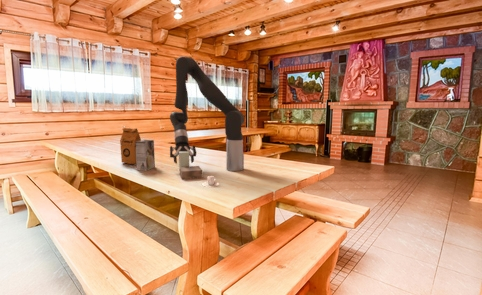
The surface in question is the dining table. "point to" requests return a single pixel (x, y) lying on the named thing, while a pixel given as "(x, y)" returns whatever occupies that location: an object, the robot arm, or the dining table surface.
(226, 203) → the dining table surface
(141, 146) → the coffee box
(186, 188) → the dining table surface
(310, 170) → the dining table surface
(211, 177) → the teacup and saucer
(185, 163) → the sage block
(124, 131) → the coffee package
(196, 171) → the walnut plinth
